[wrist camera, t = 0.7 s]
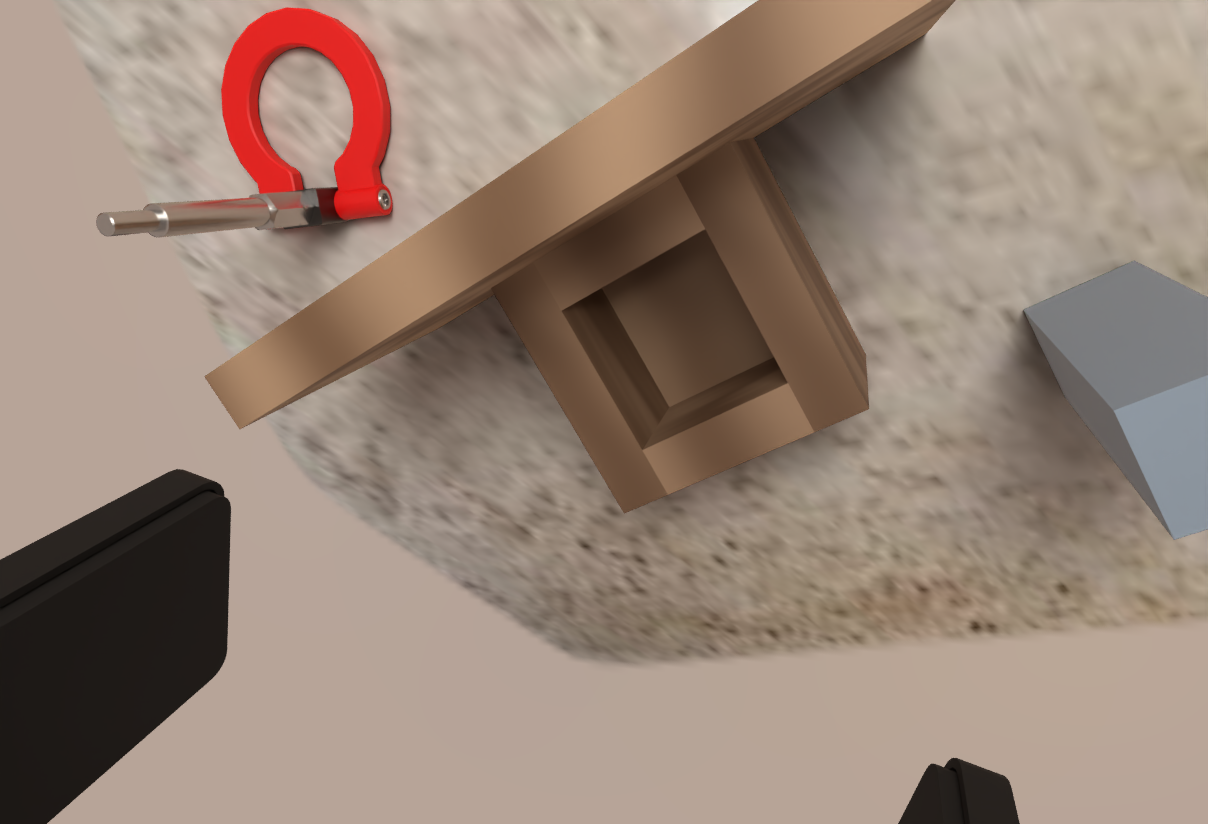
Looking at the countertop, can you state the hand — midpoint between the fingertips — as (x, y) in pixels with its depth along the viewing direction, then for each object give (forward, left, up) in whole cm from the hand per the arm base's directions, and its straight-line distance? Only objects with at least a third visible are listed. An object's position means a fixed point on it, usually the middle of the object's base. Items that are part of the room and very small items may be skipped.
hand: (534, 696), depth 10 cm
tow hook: (+14, -16, -27) cm, 35 cm away
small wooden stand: (+2, 0, -27) cm, 27 cm away
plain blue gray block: (-11, +8, -27) cm, 30 cm away
